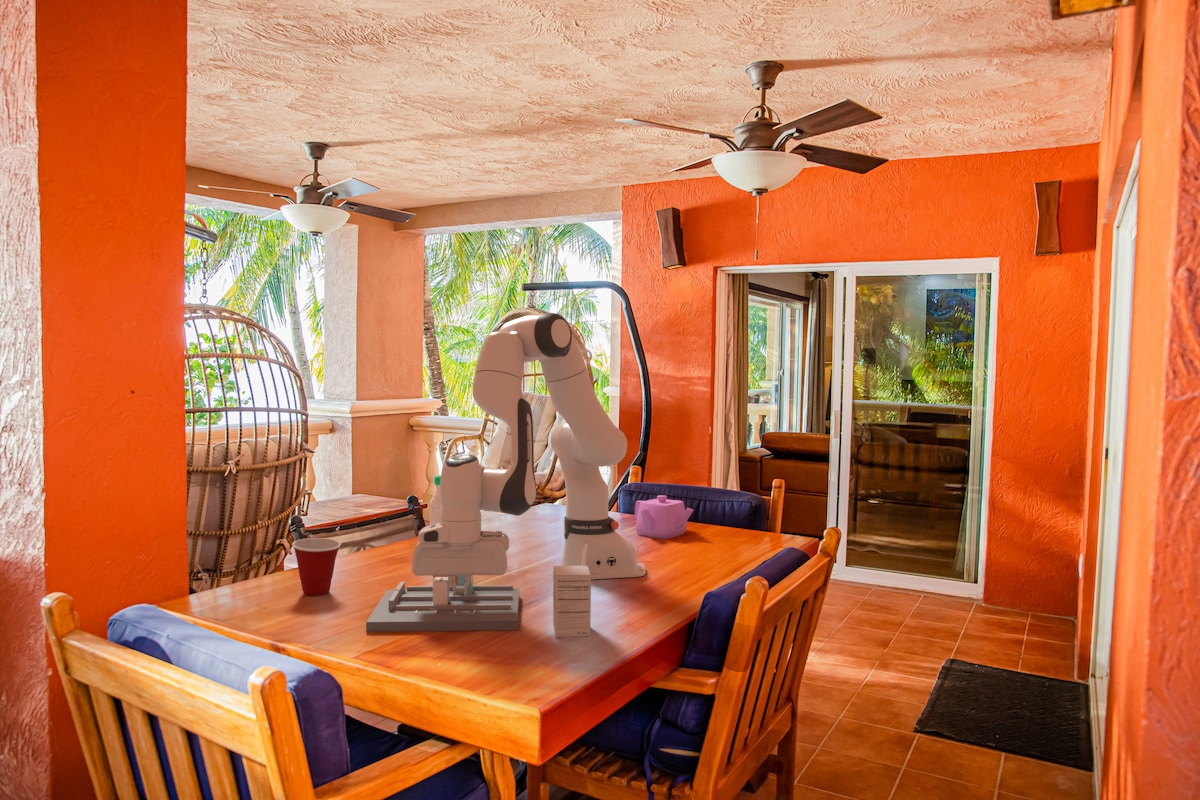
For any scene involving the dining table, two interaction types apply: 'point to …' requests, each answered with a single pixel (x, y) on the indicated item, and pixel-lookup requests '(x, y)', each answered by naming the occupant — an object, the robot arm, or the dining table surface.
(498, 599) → the console
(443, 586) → the fader
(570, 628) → the supplement box
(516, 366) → the robot arm
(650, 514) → the teakettle
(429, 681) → the dining table surface
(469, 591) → the fader
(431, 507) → the water bottle
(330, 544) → the plastic cup
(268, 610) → the dining table surface
